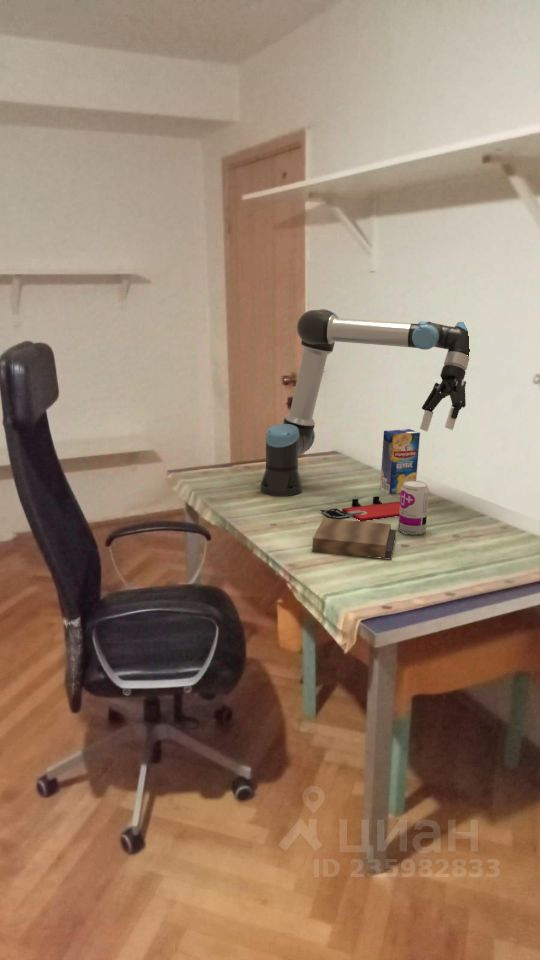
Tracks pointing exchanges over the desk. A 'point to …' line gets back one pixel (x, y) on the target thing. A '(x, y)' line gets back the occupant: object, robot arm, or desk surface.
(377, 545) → the brown flat block
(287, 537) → the desk surface
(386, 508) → the red board with handle
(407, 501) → the supplement can
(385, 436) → the beverage box
